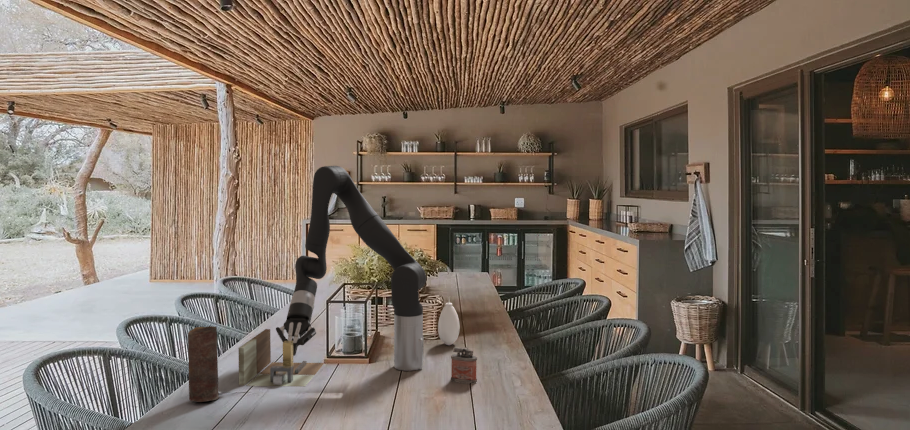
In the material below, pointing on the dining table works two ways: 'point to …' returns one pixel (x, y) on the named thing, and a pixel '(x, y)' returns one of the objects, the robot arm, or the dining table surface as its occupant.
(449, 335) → the white ceramic vase
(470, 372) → the lighter
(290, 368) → the rails
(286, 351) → the bolt
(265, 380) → the door mockup
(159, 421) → the dining table surface
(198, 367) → the candle
